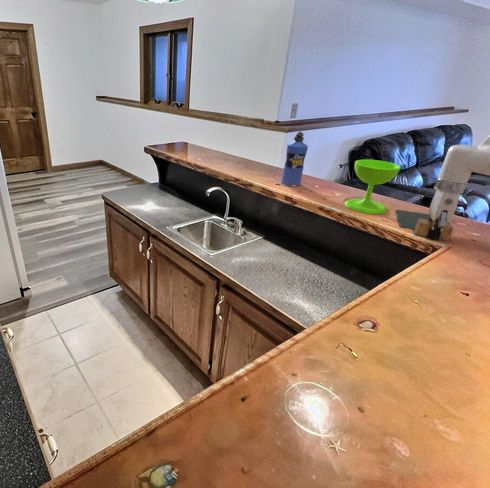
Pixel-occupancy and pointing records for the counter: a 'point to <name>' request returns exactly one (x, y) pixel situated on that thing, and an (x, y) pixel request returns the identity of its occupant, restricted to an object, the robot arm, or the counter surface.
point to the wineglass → (372, 184)
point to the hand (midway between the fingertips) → (429, 236)
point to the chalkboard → (409, 218)
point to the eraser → (425, 225)
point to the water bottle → (294, 161)
